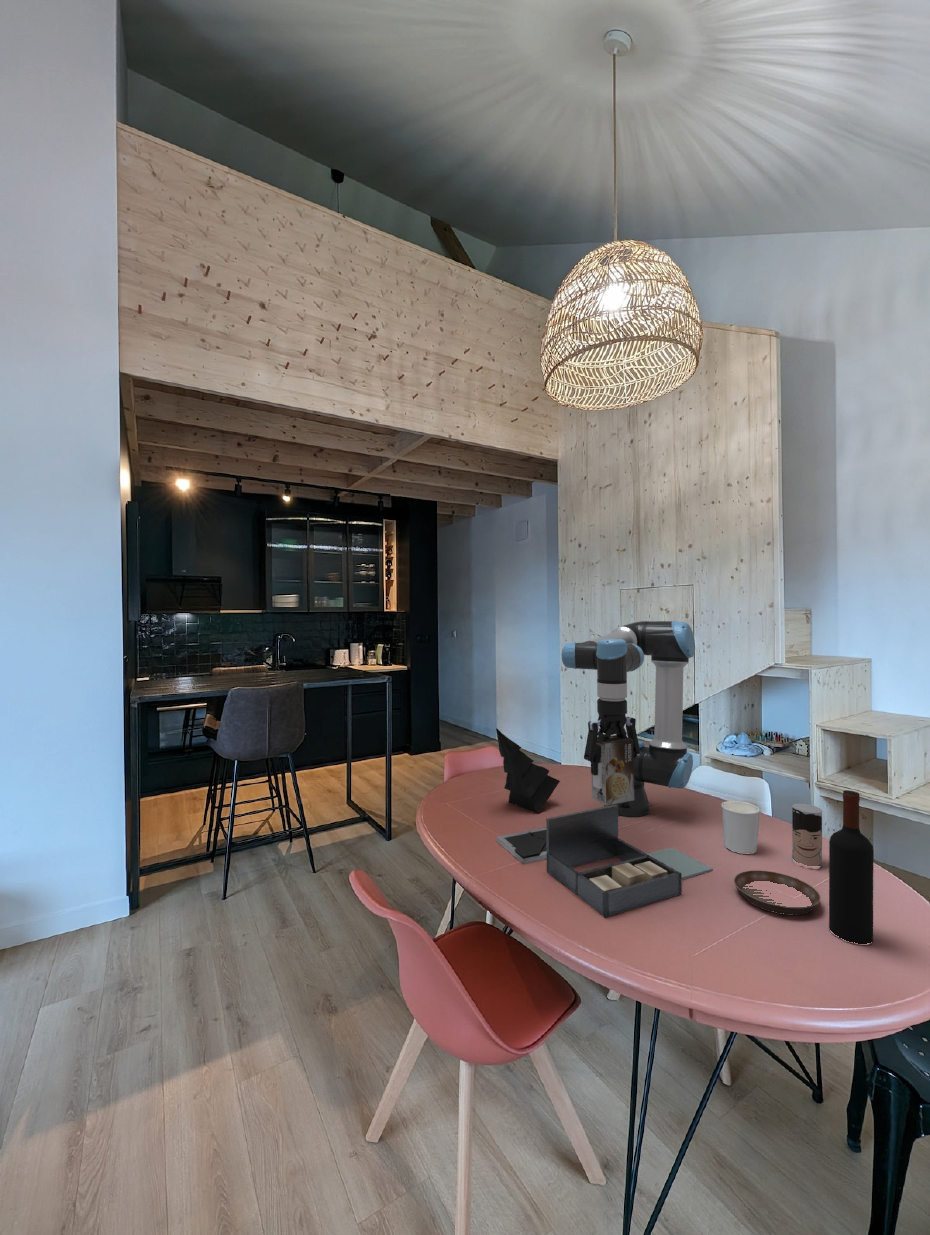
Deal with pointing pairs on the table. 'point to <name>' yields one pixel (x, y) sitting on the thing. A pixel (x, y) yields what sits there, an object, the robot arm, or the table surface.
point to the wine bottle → (851, 877)
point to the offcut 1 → (605, 883)
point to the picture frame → (526, 845)
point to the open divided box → (597, 840)
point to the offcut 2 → (651, 870)
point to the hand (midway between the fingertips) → (612, 784)
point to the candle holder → (740, 826)
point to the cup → (807, 834)
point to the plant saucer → (773, 877)
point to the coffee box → (616, 771)
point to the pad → (680, 862)
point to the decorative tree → (524, 777)
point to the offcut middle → (627, 875)
